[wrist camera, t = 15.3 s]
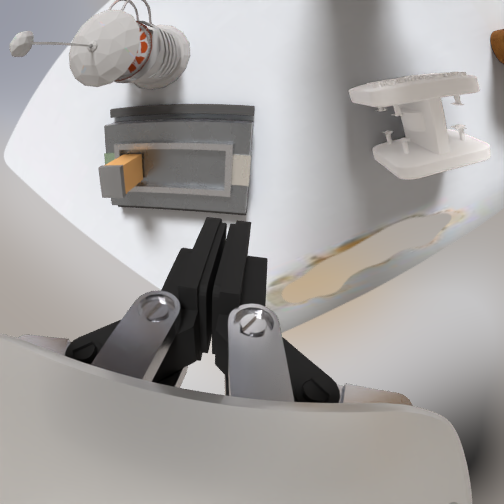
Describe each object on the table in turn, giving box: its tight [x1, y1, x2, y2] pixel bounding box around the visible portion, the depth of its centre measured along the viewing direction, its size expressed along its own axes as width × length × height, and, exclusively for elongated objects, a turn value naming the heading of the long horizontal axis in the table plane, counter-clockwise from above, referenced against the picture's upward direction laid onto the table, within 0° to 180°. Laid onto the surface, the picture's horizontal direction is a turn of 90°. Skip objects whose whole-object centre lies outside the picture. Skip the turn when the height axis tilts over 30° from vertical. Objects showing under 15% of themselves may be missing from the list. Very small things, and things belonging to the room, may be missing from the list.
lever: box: [99, 154, 143, 198], centre depth 32 cm, size 4×3×6 cm
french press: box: [10, 0, 190, 90], centre depth 18 cm, size 10×12×25 cm
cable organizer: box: [348, 72, 491, 180], centre depth 26 cm, size 15×11×12 cm
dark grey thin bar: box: [118, 205, 247, 215], centre depth 40 cm, size 1×20×1 cm, turn 86°
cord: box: [110, 104, 254, 118], centre depth 33 cm, size 1×20×1 cm, turn 86°
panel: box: [104, 119, 253, 213], centre depth 35 cm, size 12×20×4 cm, turn 86°
